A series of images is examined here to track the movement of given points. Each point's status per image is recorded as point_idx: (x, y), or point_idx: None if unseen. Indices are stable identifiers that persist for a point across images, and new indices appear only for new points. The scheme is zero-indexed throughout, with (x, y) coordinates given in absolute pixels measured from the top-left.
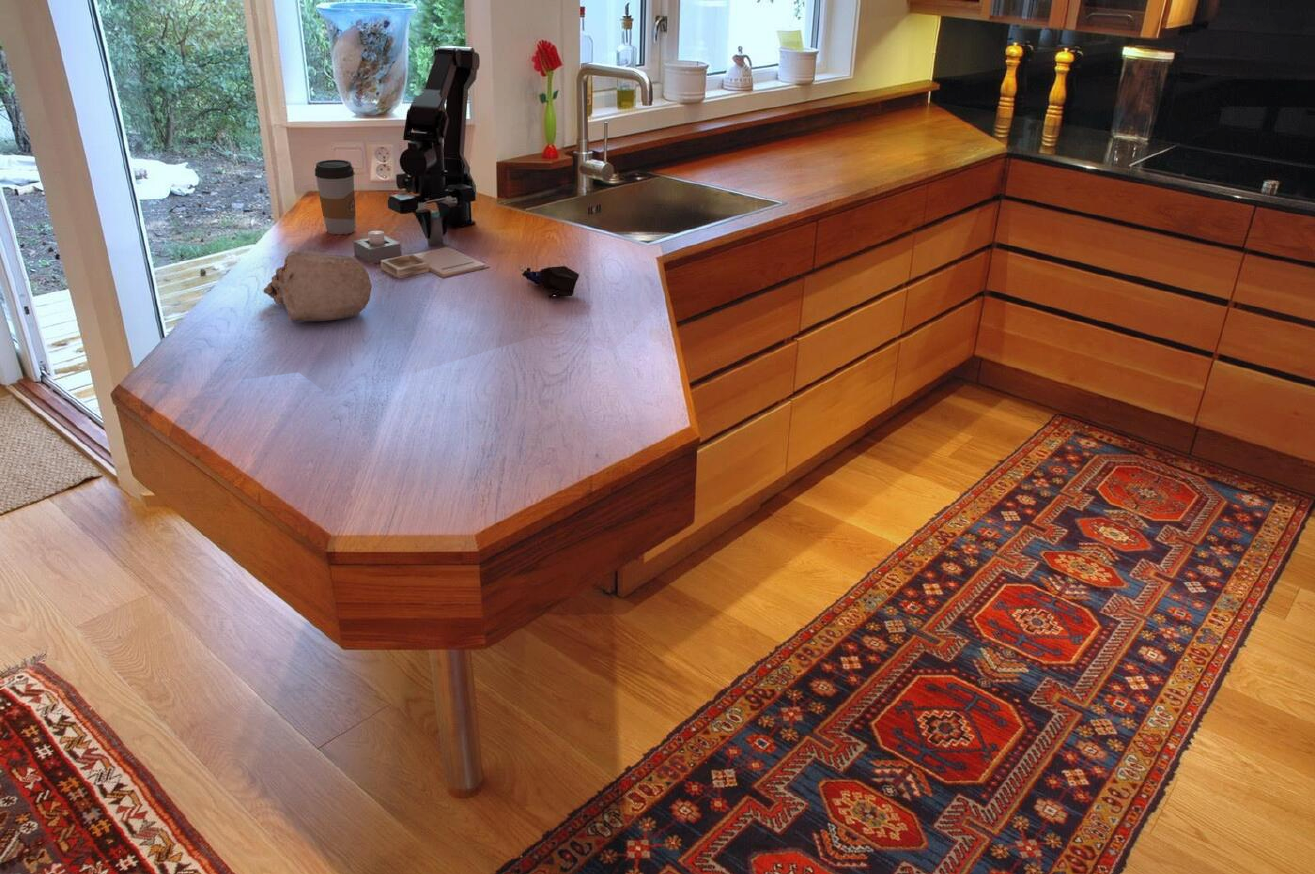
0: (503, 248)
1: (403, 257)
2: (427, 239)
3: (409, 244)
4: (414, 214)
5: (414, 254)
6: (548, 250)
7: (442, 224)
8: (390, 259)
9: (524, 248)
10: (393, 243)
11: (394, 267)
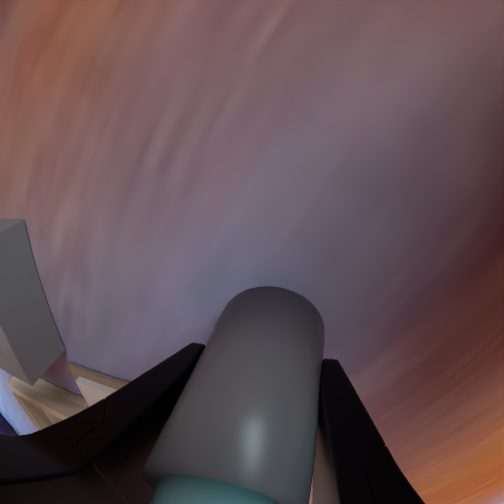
0: (433, 476)
1: (54, 415)
2: (214, 329)
3: (129, 234)
4: (23, 438)
5: (99, 393)
6: (471, 499)
7: (320, 450)
8: (25, 398)
9: (462, 485)
10: (11, 366)
11: (38, 429)
